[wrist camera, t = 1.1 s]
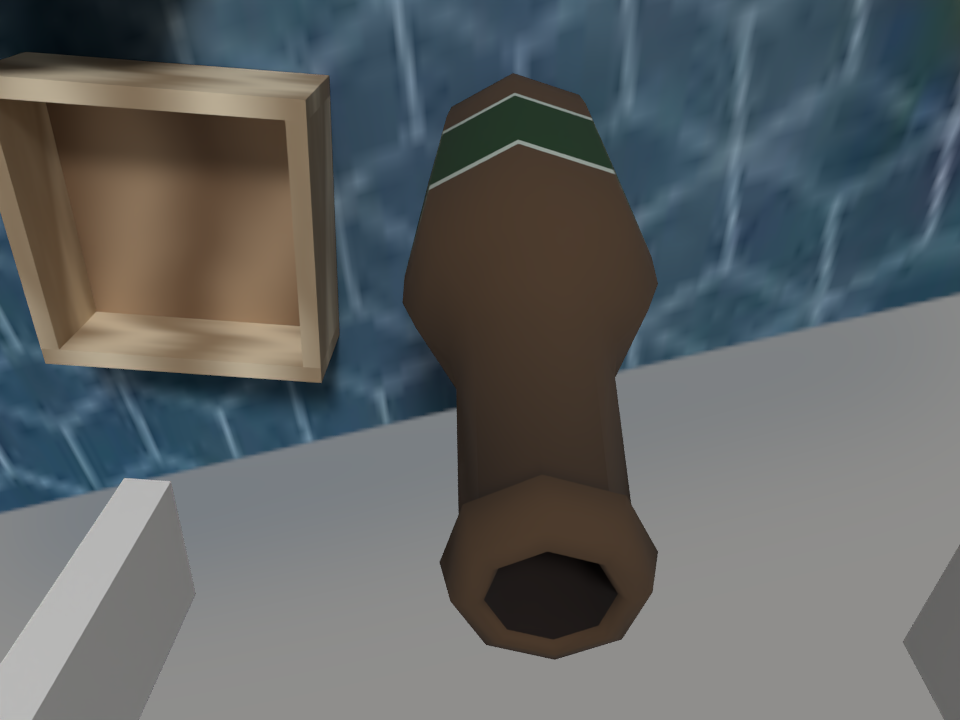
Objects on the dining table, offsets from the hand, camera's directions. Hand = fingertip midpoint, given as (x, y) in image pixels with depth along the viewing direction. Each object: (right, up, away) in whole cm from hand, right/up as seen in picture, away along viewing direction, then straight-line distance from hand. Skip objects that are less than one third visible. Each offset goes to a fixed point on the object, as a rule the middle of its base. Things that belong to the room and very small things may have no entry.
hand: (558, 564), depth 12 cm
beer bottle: (0, +12, +20) cm, 23 cm away
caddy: (-14, +11, +21) cm, 28 cm away
